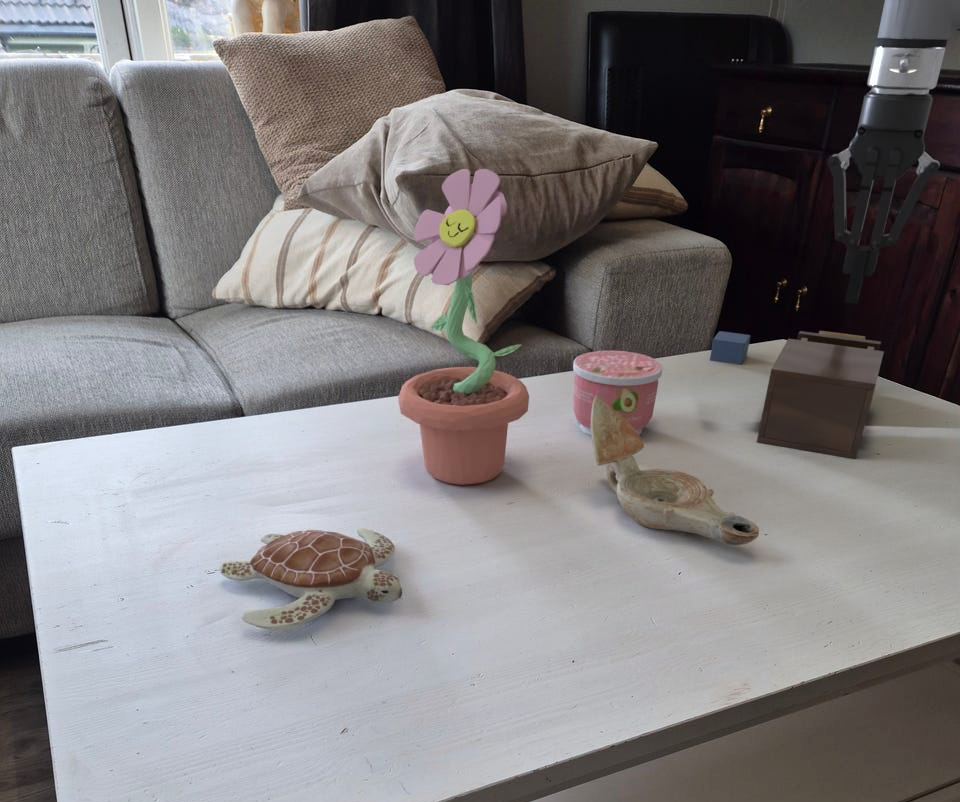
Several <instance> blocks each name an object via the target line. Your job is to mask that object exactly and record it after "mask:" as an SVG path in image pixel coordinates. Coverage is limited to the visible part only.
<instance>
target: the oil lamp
mask: <svg viewBox="0 0 960 802" xmlns="http://www.w3.org/2000/svg"><path fill="white" fill-rule="evenodd" d="M590 436H591V444H592V449H593V455H594V458H595V461H596V464H597V466H604V465H605V467H606V468H605V469H606V478H607V482H608V484H609V486H610V487H611V489H612V490H613V492H614V493H616V495H617V498H618V501H619V504H620V506H621V507H622V509H623V510H624V511H625V513H627V514H628V516H630V518H631V519H632V520H633V521H634V522H636V523H637V524H639V525H641V526H643V527H645V528H649V529H654V530H666V531H677V532H678V531H679V532H685V533H690V534H696V535H699V536H703V537H706V538H709V539H712V540H715V541H717V542H721V543H724V544H727V545H731V546H743V545H747V544H749V543H752V542H753V541H755V540H756V539H757V538H758V537H759V533H760V529H759V527H758V525H757V524H756V523H755V522H753V521H752V520H749V518H748V519H747V518H745V517H743V516H740V515H736V514H735V513H734V512H733V511H728V512H725V511H724V510H723V509H721V508H720V507H719V506H718V504H716V502H715V500H714V499H713V495H714V493H715V489H712V488H707V487H706V485H705V483H704V482H702V480H700V479H699V478H697V477H695V476H694V475H691V474H689V473H687V472H682V471H678V470H674V469H662V468H652V469H642V470H641V469H640V467H639V464H638V463H637V460H636V458H635V457H634V455H635V454H637V453H639V452H641V451H643V450H644V448H645V443H644V441H643V440H642V438H641V436H640V435H638V433H637V432H636V431H635V430H634V428H633V427H632V426H631V425H630V424H629V423H628V422H627V421H626V420H625V419H624V418H623V417H622V416H621V415H620V414H619V413H618V412H616V411H615V410H614V409H613V408H611V407H610V406H609V405H607V404H606V403H605V402H604V401H603V400H602V399H601V397H599V396H598V395H597V396H595V397H594V400H593V403H592V412H591V435H590Z"/></svg>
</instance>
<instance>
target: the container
mask: <svg viewBox="0 0 960 802" xmlns="http://www.w3.org/2000/svg"><path fill="white" fill-rule="evenodd" d="M572 369H573V372H574V373H575V374H574V377H573V378H574V379H573V404H572V405H573V406H572V408H573V412H574V415H575V418H576V421H577V422H578V423H579V424H580V425H579V427H580V429H581V431H582V432H583V433H584V434H586V435H588V436H591V412H592V403H593V400H594V397H595V396H597V395H598V396H599V397H601V399H602V400H603V401H604V402H605V403H606V404H607V405H609V406H610V407H611V408H613V409H614V410H615V411H616V412H618V413H619V414H620V415H621V416H622V417H623V418H624V419H625V420H626V421H627V422H628V423H629V424H630V425H631V426H632V427H633V428H634V430H635V431H636V432H637V433H638V435H639V436H640V435H641V434H642V433H643V429H644V428H645V427H647V426H648V424H649V423H650V421H651V419H652V417H653V415H654V409H655V404H656V399H657V393H658V387H659V379H660V378H661V377H662V374H663V365H662V363H661V362H660V361H658V360H657V359H655V358H653V357H651V356H649V355H646V354H642V353H637V352H633V351H625V350H597V351H596V350H595V351H590V352H585V353H582V354H580V355H577V357H576V358H574V360H573V365H572Z"/></svg>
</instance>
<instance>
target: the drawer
mask: <svg viewBox="0 0 960 802" xmlns="http://www.w3.org/2000/svg"><path fill="white" fill-rule="evenodd" d="M796 340H802V341H810V342H817V343H825V344H832V345H840V346H847V347H855V348H862V349H869V350H877V351H880V347H881V343H882V341H879V340H871V339H866V336H865V335H857V334H848V333H841V332H833V331H825V330H819V331H818V333H817V332H809V331H804V330H800V331H799V332H798V335H797V339H796Z"/></svg>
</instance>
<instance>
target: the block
mask: <svg viewBox="0 0 960 802" xmlns="http://www.w3.org/2000/svg"><path fill="white" fill-rule="evenodd" d="M750 341H751V335H750V334H744V333H737V332H730V331H724V330H723V331H722V330H719V331H718V332H717V334H716V335H715V336H714V338H713V339H712V342H711V343H712V344H711V349H710V356H709V361H711V362H717V363H725V364H732V365H738V366H741V365H743V363H744V362H745V360H746V358H747V356H748V352H749V346H750Z"/></svg>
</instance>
